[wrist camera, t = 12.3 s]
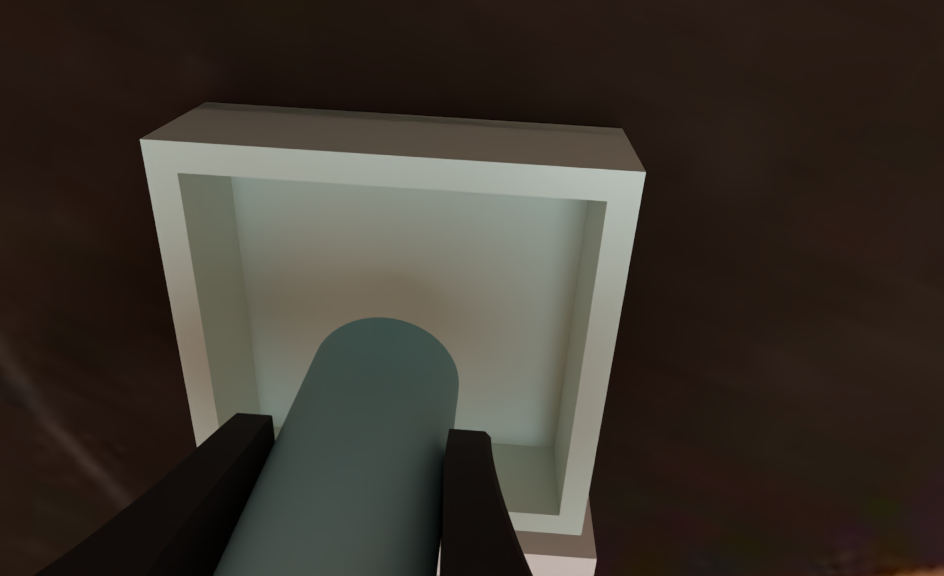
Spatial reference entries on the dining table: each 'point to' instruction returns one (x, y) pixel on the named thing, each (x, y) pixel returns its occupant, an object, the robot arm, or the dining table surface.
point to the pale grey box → (558, 551)
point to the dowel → (355, 462)
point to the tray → (404, 268)
